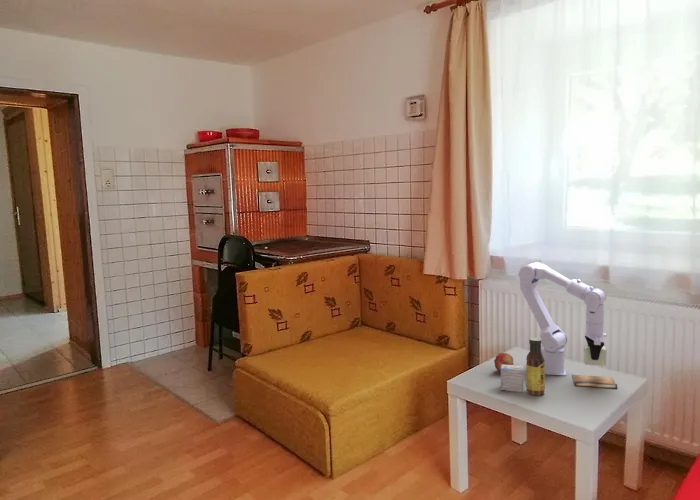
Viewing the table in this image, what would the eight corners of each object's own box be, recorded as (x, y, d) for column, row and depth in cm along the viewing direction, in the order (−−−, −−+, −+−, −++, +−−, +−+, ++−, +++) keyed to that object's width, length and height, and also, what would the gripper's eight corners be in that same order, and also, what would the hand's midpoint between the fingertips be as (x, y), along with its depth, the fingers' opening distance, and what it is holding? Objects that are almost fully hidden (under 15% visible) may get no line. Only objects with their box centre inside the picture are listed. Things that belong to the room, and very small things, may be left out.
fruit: (511, 378, 195) (511, 358, 194) (491, 374, 199) (491, 355, 198) (516, 371, 201) (516, 351, 200) (497, 368, 205) (496, 349, 204)
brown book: (574, 385, 185) (574, 381, 185) (571, 376, 194) (572, 372, 194) (617, 388, 181) (617, 384, 181) (612, 378, 190) (612, 374, 189)
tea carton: (606, 365, 184) (606, 350, 183) (585, 364, 186) (585, 348, 186) (604, 361, 188) (604, 346, 187) (583, 360, 190) (584, 345, 189)
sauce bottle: (544, 397, 178) (545, 342, 175) (526, 395, 180) (526, 341, 177) (544, 389, 184) (544, 336, 181) (526, 387, 186) (526, 335, 183)
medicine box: (523, 387, 186) (523, 365, 185) (523, 393, 182) (523, 370, 180) (501, 386, 188) (501, 363, 187) (500, 390, 184) (500, 368, 183)
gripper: (610, 328, 177) (609, 365, 179) (603, 316, 191) (602, 351, 193) (588, 327, 179) (587, 364, 181) (582, 316, 193) (582, 350, 195)
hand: (593, 357), depth 187 cm, fingers closed on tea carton, 4 cm apart
